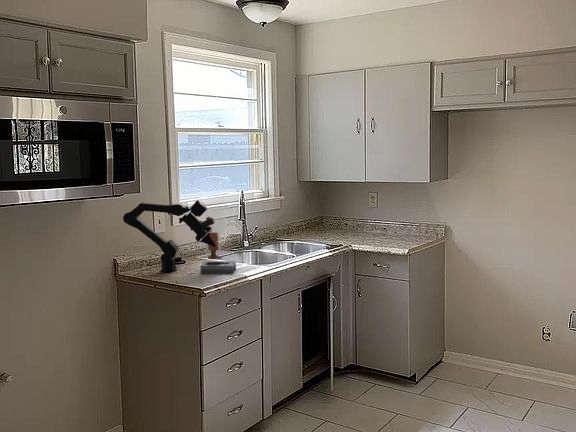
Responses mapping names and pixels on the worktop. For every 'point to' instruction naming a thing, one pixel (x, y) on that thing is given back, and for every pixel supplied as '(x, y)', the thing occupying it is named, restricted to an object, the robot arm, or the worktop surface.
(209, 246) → the peg
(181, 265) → the worktop surface
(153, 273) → the worktop surface
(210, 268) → the keyhole plate
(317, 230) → the worktop surface
